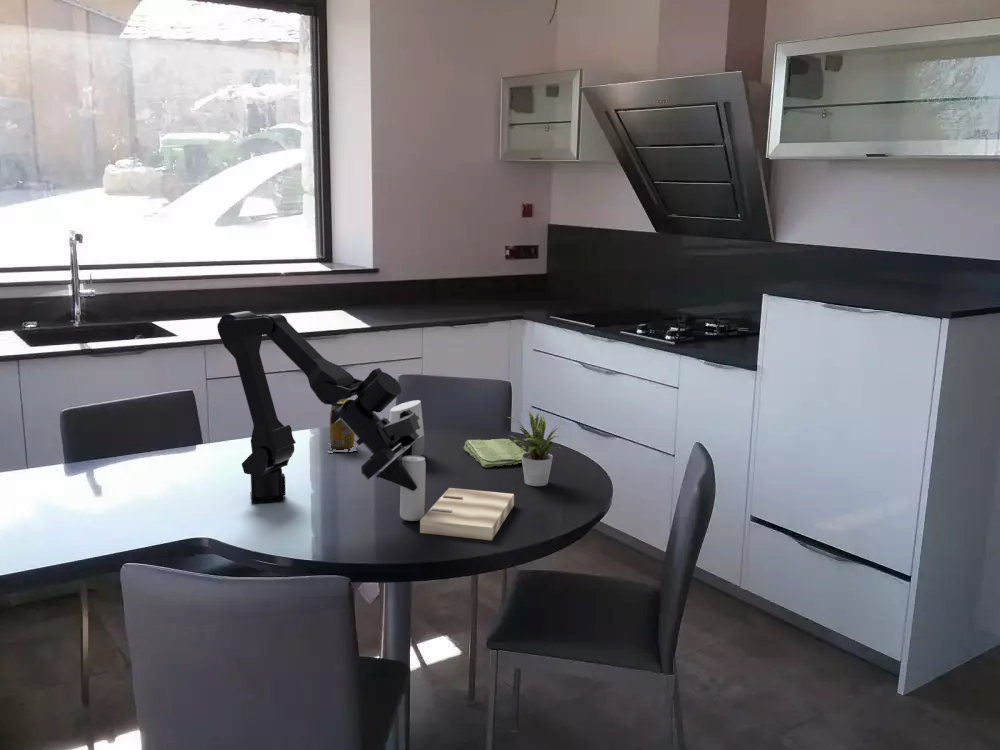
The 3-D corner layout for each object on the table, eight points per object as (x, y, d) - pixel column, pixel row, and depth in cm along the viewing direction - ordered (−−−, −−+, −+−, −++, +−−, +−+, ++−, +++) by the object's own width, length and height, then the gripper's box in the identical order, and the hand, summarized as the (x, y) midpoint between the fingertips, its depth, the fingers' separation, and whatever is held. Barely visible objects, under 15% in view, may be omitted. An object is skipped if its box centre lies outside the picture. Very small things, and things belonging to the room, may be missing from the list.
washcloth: (482, 471, 211) (482, 457, 210) (461, 450, 227) (461, 438, 226) (534, 466, 215) (534, 453, 214) (509, 447, 231) (510, 435, 230)
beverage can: (412, 512, 180) (413, 453, 178) (429, 517, 177) (430, 458, 175) (394, 517, 176) (395, 458, 174) (412, 523, 173) (413, 463, 171)
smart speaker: (389, 451, 224) (389, 396, 221) (426, 452, 223) (426, 397, 221) (383, 462, 214) (383, 405, 212) (421, 463, 214) (422, 406, 211)
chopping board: (491, 540, 167) (491, 526, 167) (420, 532, 170) (420, 519, 170) (513, 505, 186) (514, 493, 186) (449, 499, 189) (449, 486, 189)
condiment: (355, 443, 230) (354, 397, 227) (357, 452, 222) (357, 405, 219) (326, 444, 228) (325, 398, 226) (327, 453, 220) (327, 406, 218)
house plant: (492, 474, 207) (493, 405, 203) (547, 469, 211) (549, 402, 208) (514, 493, 194) (516, 420, 190) (573, 487, 198) (575, 416, 195)
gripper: (377, 410, 164) (434, 474, 164) (410, 389, 182) (461, 447, 181) (337, 448, 167) (393, 510, 167) (373, 424, 185) (423, 480, 185)
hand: (419, 485), depth 175 cm, fingers closed on beverage can, 5 cm apart
